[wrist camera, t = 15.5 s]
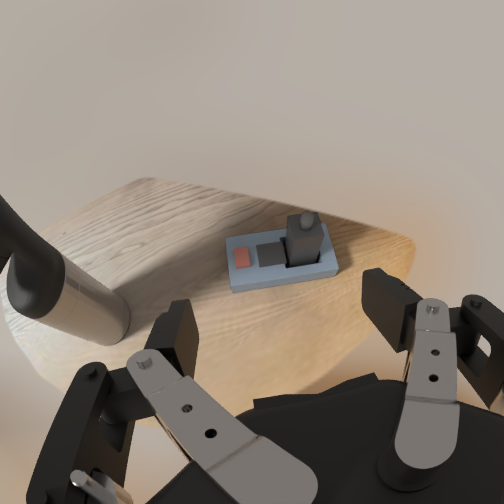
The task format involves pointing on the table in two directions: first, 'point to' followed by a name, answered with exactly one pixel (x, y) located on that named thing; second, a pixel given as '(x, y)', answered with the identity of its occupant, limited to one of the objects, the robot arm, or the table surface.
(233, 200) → the table surface
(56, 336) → the table surface
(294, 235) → the black plug
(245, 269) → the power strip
